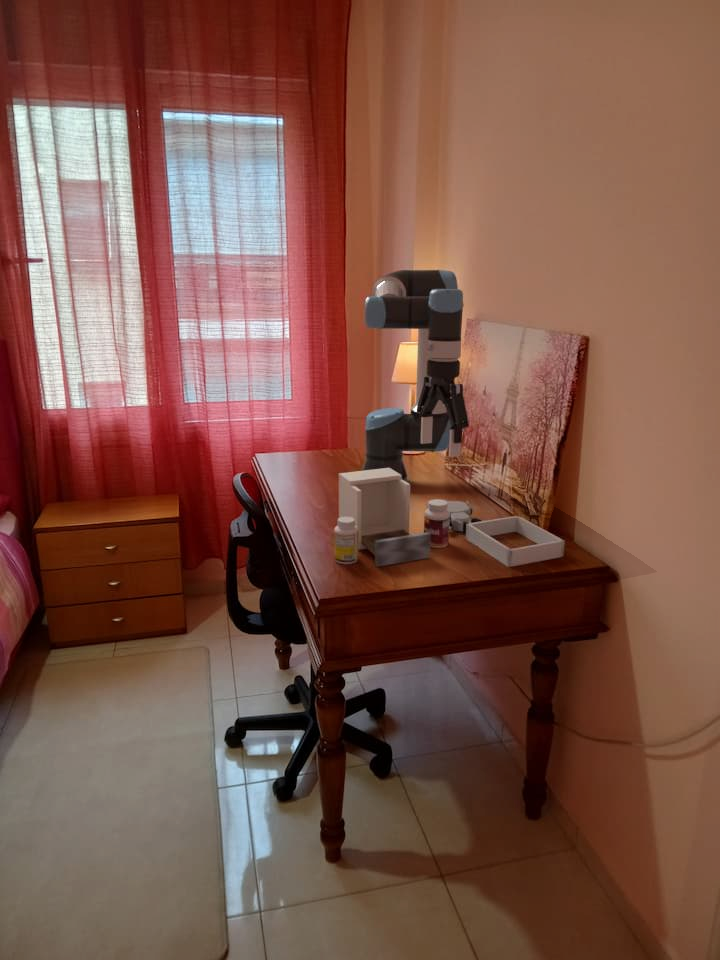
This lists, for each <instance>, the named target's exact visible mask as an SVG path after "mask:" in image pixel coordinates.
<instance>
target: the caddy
mask: <svg viewBox="0 0 720 960" xmlns="http://www.w3.org/2000/svg"><path fill="white" fill-rule="evenodd" d="M410 507H411V484H410V483H409V482H408V481H407V482H406V481H404V480H402V475H401V474H399V473H397V472H396V471H394V470H392V469H391V468H382V469H373V470H365V471H362V470H358V471H348V472H340V473H338V519H339V518H341V517H352V518H354V519H355V526H357V527H358V551H360V550H366V549H367V548H366V547H365V546H364V545H363V544H362V536H364V535H370V534H376V533H383V532H389V531H396V530H402V529H403V530H405V531H406V532H407V533H409V534H410V515H411V514H410V513H411V512H410V511H411V510H410Z"/></svg>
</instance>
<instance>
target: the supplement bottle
mask: <svg viewBox="0 0 720 960" xmlns="http://www.w3.org/2000/svg"><path fill="white" fill-rule="evenodd" d="M336 523H337V525H336V526H335V527H334V529H333V533H334V536H333V537H334V538H333V539H334V561H336V563H338V564H340V565H352V564H355V563H357V562H358V560H359V550H358V527H357V526H355V519H354V518H352V517H341V518H339V517H338V518H337V522H336Z"/></svg>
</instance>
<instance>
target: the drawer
mask: <svg viewBox="0 0 720 960" xmlns="http://www.w3.org/2000/svg"><path fill="white" fill-rule="evenodd" d="M430 542H431V534H430V533H429V532H426V533H424V532H421V533H415V534H414V533H413V534H410V532H409V533H407V532H406V531H405V530H403V529H402V530H396V531H389V532H383V533H376V534H370V535H364V536H362V544H363V545H364V546H365V547H366V549H367V550H368V551H369V552H371V553H372V554H373V555H374V565H375V566H376V568H378V567H385V566H389V565H395V564H399V563H400V564H401V563H407V562H412V561H418V560H424V559H430V558H431V547H430Z"/></svg>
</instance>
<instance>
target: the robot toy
mask: <svg viewBox="0 0 720 960" xmlns="http://www.w3.org/2000/svg"><path fill="white" fill-rule="evenodd" d="M445 501H446V502H447V509H446V510H448V511H449V513H450V522H449V531H451V530H454V531H455V532H466V524H468V523H475V522H481V521H483V520H481V519H480V518H477V517H473V518H472V517H471V515H473V511H474V509H473V508H472V506H471V505H470V503H469V501H468V500H466V502H464V501H458V500H445ZM425 507H426V508H427V509H429V508H428V503H427V504H426V503H425ZM427 509H426V510H427Z"/></svg>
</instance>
